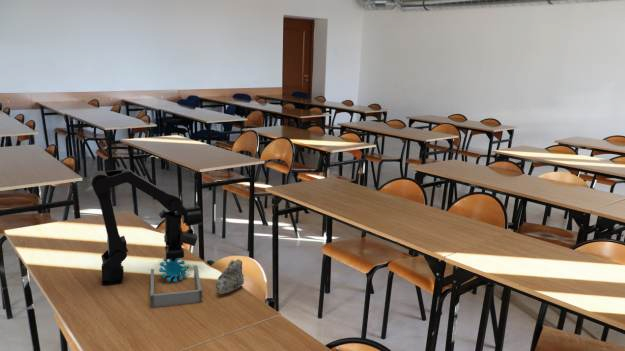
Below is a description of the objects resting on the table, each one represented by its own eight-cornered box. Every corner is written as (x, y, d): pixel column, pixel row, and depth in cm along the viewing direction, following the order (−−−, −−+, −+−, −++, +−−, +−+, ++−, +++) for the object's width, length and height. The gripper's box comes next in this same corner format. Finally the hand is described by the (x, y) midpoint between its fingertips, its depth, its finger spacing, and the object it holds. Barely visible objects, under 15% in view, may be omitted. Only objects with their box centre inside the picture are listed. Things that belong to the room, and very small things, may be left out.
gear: (161, 282, 161) (158, 255, 165) (157, 288, 165) (153, 262, 169) (192, 279, 167) (188, 253, 172) (187, 285, 171) (183, 260, 176)
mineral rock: (218, 299, 155) (218, 271, 153) (205, 286, 164) (205, 259, 161) (252, 289, 163) (252, 263, 160) (238, 277, 171) (238, 252, 169)
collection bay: (150, 307, 148) (150, 296, 147) (151, 279, 166) (150, 269, 165) (202, 301, 153) (202, 290, 152) (197, 275, 171) (196, 265, 170)
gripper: (198, 234, 164) (198, 275, 168) (193, 217, 181) (194, 254, 185) (165, 237, 160) (166, 278, 164) (163, 219, 177) (164, 256, 181)
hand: (174, 266), depth 174 cm, fingers closed
